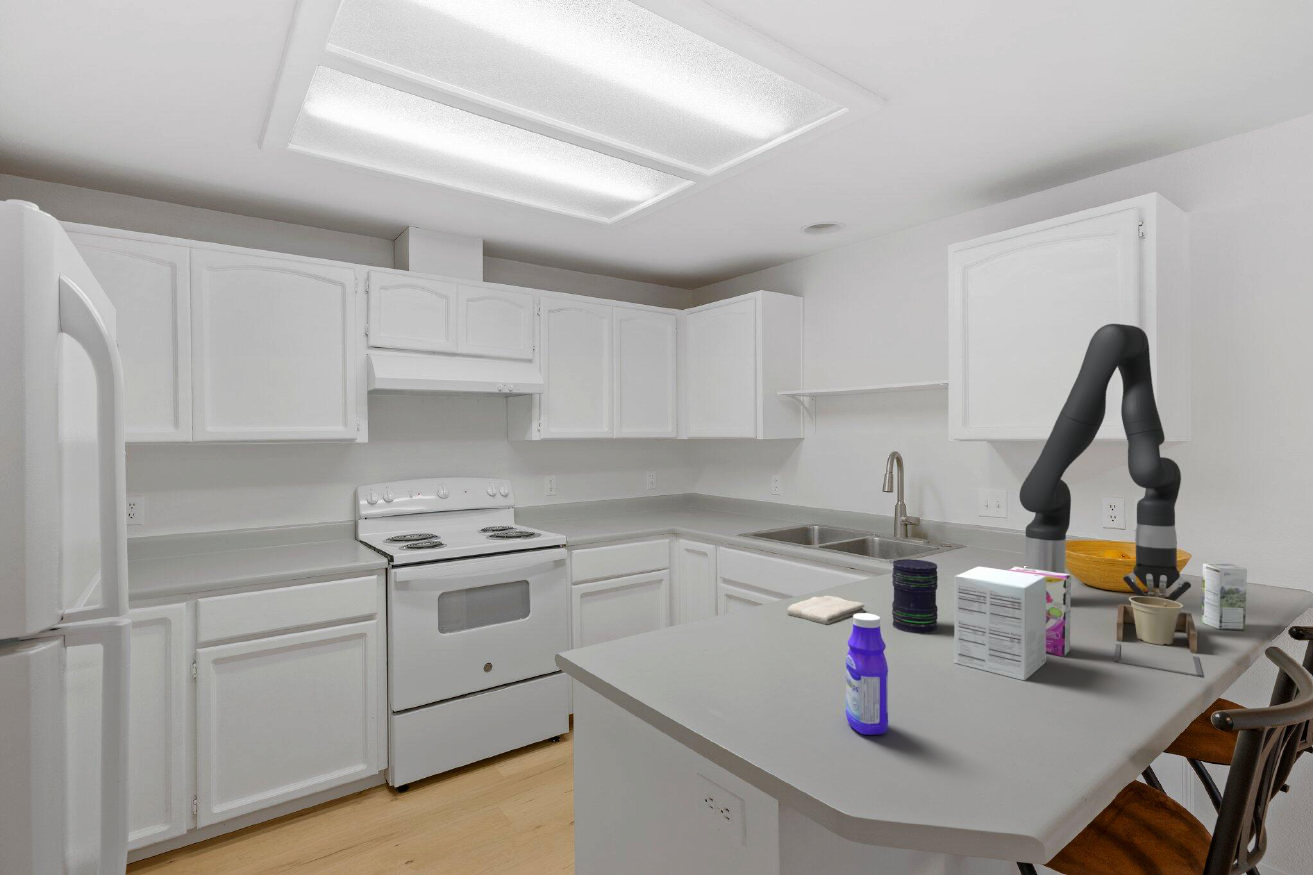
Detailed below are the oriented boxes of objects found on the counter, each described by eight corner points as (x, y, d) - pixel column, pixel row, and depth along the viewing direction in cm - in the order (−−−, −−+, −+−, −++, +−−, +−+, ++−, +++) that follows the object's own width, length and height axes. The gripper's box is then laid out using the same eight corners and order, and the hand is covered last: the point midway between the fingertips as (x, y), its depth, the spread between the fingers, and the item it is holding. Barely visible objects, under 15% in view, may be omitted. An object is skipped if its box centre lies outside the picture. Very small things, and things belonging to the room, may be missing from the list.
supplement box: (976, 647, 138) (977, 565, 138) (1046, 663, 129) (1047, 575, 128) (952, 663, 129) (952, 575, 129) (1025, 681, 119) (1026, 587, 119)
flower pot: (1171, 636, 145) (1172, 597, 145) (1190, 650, 136) (1191, 609, 136) (1122, 632, 148) (1122, 594, 148) (1137, 645, 139) (1137, 605, 139)
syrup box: (1226, 623, 154) (1227, 562, 154) (1246, 630, 149) (1247, 567, 148) (1200, 622, 155) (1201, 562, 155) (1219, 630, 149) (1220, 567, 149)
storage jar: (891, 630, 149) (891, 566, 149) (892, 619, 158) (892, 558, 158) (938, 635, 146) (938, 569, 145) (937, 623, 155) (937, 561, 154)
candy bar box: (1005, 645, 139) (1005, 569, 139) (1011, 640, 143) (1012, 565, 142) (1065, 658, 131) (1066, 577, 131) (1071, 651, 135) (1071, 573, 135)
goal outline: (1114, 661, 129) (1114, 660, 129) (1115, 644, 140) (1115, 643, 140) (1203, 677, 121) (1203, 676, 121) (1198, 657, 131) (1198, 656, 131)
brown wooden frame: (1116, 640, 142) (1116, 622, 142) (1118, 620, 157) (1118, 603, 157) (1196, 653, 134) (1197, 634, 134) (1191, 630, 149) (1191, 613, 149)
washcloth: (867, 612, 165) (867, 600, 165) (827, 627, 153) (827, 614, 153) (826, 603, 174) (826, 592, 174) (786, 616, 162) (786, 604, 162)
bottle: (840, 717, 105) (840, 610, 105) (874, 716, 105) (874, 609, 105) (857, 738, 98) (858, 623, 97) (894, 737, 98) (894, 622, 98)
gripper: (1120, 543, 150) (1120, 618, 150) (1194, 549, 143) (1194, 628, 143) (1120, 539, 156) (1121, 611, 156) (1191, 544, 149) (1192, 620, 149)
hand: (1156, 619), depth 149 cm, fingers closed
